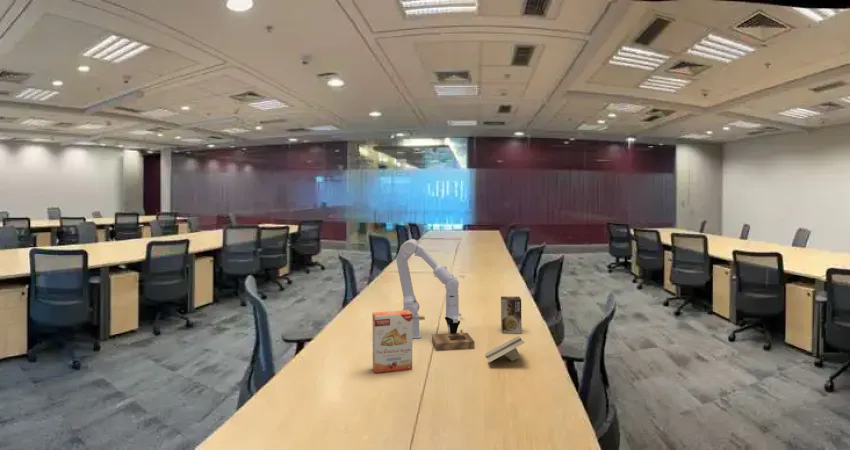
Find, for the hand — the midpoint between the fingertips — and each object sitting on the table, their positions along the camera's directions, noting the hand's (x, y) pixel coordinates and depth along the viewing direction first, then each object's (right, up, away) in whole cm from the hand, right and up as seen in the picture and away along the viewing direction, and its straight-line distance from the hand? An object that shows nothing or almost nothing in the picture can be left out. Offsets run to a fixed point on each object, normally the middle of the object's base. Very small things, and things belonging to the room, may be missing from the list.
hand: (452, 334), depth 189 cm
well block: (-1, -2, -10) cm, 10 cm away
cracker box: (-24, -4, -36) cm, 43 cm away
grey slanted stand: (+18, -3, -28) cm, 33 cm away
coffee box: (+28, -1, +8) cm, 29 cm away
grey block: (+1, -1, 0) cm, 2 cm away
